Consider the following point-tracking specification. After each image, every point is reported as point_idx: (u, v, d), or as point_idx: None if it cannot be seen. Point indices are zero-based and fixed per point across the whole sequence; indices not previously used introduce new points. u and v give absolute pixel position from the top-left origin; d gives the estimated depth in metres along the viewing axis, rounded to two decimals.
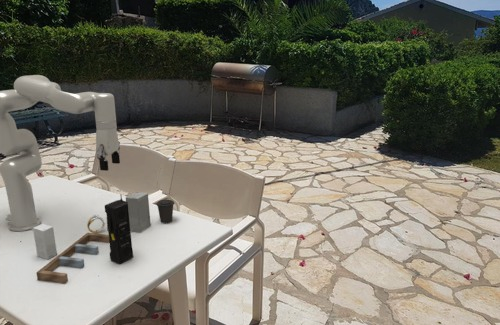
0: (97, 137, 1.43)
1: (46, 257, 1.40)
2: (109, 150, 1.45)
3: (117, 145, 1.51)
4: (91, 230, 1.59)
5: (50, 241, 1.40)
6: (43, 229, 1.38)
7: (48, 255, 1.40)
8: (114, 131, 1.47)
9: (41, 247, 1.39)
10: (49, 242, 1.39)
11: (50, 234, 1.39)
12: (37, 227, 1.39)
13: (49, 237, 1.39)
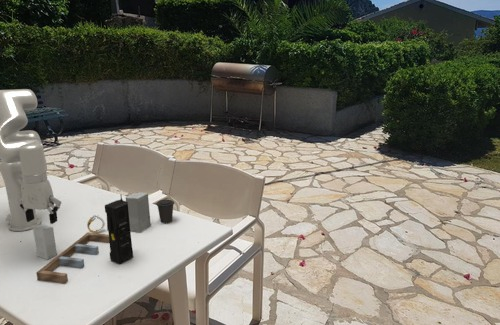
0: (45, 190, 1.32)
1: (46, 257, 1.40)
2: None
3: None
4: (91, 230, 1.59)
5: (50, 241, 1.40)
6: (43, 229, 1.38)
7: (48, 255, 1.40)
8: None
9: (41, 247, 1.39)
10: (49, 242, 1.39)
11: (50, 234, 1.39)
12: (37, 227, 1.39)
13: (49, 237, 1.39)
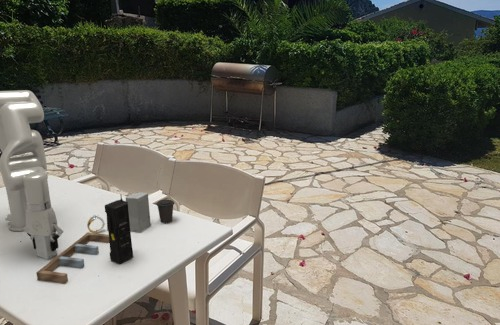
0: (49, 218, 1.36)
1: (46, 257, 1.40)
2: None
3: None
4: (91, 230, 1.59)
5: (50, 241, 1.40)
6: None
7: (48, 255, 1.40)
8: None
9: (41, 247, 1.39)
10: (49, 242, 1.39)
11: None
12: None
13: (48, 237, 1.39)
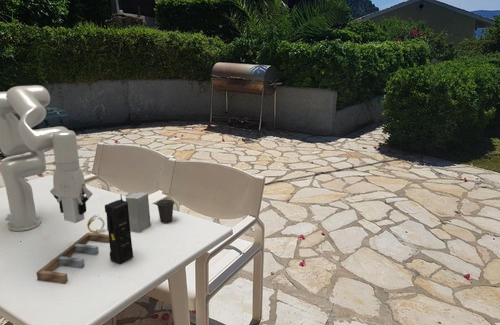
0: (78, 178, 1.29)
1: (74, 221, 1.33)
2: None
3: None
4: (91, 230, 1.59)
5: (78, 204, 1.33)
6: None
7: (76, 219, 1.33)
8: None
9: (69, 210, 1.33)
10: (77, 205, 1.32)
11: None
12: None
13: (77, 200, 1.32)
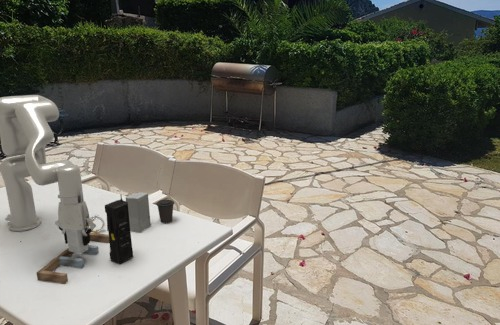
0: (82, 211, 1.32)
1: (78, 252, 1.36)
2: None
3: None
4: None
5: (82, 235, 1.36)
6: None
7: (80, 250, 1.36)
8: None
9: (73, 242, 1.36)
10: (81, 236, 1.36)
11: None
12: None
13: (81, 232, 1.36)
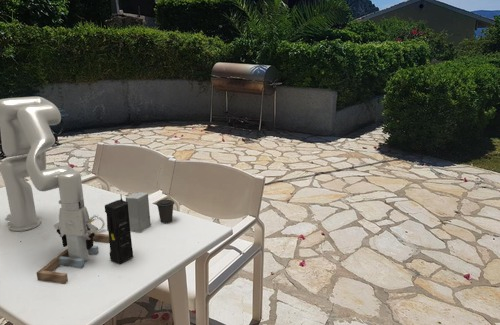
0: (83, 217, 1.33)
1: None
2: None
3: None
4: (91, 230, 1.59)
5: (83, 244, 1.38)
6: None
7: None
8: None
9: (74, 251, 1.37)
10: (82, 245, 1.37)
11: (82, 237, 1.37)
12: None
13: (81, 241, 1.37)
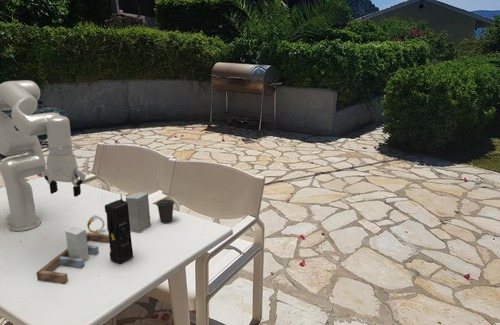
0: (71, 163, 1.34)
1: None
2: None
3: None
4: (91, 230, 1.59)
5: (82, 244, 1.38)
6: (76, 232, 1.36)
7: None
8: None
9: (74, 251, 1.37)
10: (82, 245, 1.37)
11: (82, 237, 1.37)
12: (69, 230, 1.37)
13: (81, 241, 1.37)
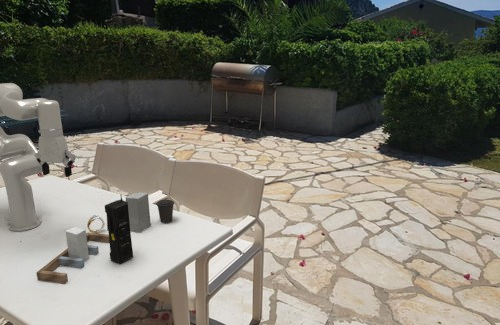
0: (61, 144, 1.41)
1: None
2: None
3: None
4: (91, 230, 1.59)
5: (83, 244, 1.38)
6: (76, 232, 1.36)
7: None
8: None
9: (74, 251, 1.37)
10: (82, 245, 1.37)
11: (82, 237, 1.37)
12: (70, 230, 1.37)
13: (81, 241, 1.37)
